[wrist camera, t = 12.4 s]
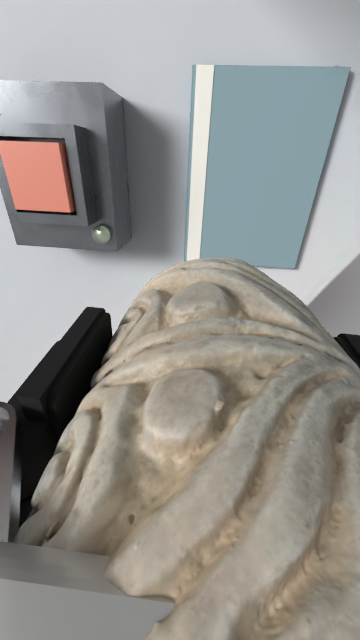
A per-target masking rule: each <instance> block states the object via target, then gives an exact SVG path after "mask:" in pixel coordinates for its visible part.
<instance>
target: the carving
mask: <svg viewBox="0 0 360 640" xmlns="http://www.w3.org/2000/svg"><path fill="white" fill-rule="evenodd" d="M96 383H97V384H96ZM90 387H91V388H92V390H91V391H90V392H89V393H88V394H87V395H86V396H85V397H84V399H83V400H82V402H81V404H80V406H79V408H78V409H77V411H76V414H75V416H74V418H73V419H72V420H71V421H70V423H69V424H68V425H67V427H66V428H65V430H64V432H63V433H62V435H61V438H60V440H59V442H58V444H57V447H56V450H55V453H54V455H53V458H52V459H51V460H50V461H49V463H48V465H47V467H46V468H45V470H44V472H43V474H42V476H41V479H40V481H39V483H38V485H37V487H36V489H35V492H34V494H33V497H32V499H31V506H32V508H33V510H32V512H31V513H30V515H29V516H28V518H27V520H26V521H25V522H24V523H23V524H22V525H21V527H20V528H19V530H18V532H17V534H16V536H15V539H14V542H13V543H16V544H24V545H32V546H40V547H48V548H55V549H62V550H69V551H76V552H82V553H89V554H96V555H103V556H109V557H110V558H109V560H108V562H107V564H106V566H105V568H104V577H105V579H106V580H107V581H108V582H110V583H111V584H112V585H114V586H115V587H117V588H118V589H119V590H121V591H122V592H124V593H125V594H127V595H129V596H134V597H145V596H157V597H165V598H168V599H171V600H172V601H173V602H174V603H175V604H176V605H175V606H174V608H173V610H172V612H171V613H170V614H169V615H168V616H167V617H166V618H164V619H162V620H159V621H157V622H156V623H155V625H154V627H153V629H152V630H151V631H150V632H149V634H148V635H147V636H146V638H145V639H144V640H360V369H359V367H358V366H357V364H356V363H355V362H354V361H353V360H352V359H351V358H350V357H349V356H348V355H347V353H346V352H345V351H344V350H343V349H342V347H341V346H340V345H339V344H338V343H337V342H336V341H335V339H334V338H333V337H332V336H331V335H330V334H329V333H328V332H327V331H326V330H325V329H324V327H322V325H321V324H320V322H319V321H318V320H317V318H316V317H315V316H314V314H313V313H312V312H311V311H310V310H309V308H308V307H307V306H306V305H305V304H304V303H303V302H302V301H301V300H300V299H299V298H298V297H296V296H295V295H294V294H293V293H291V292H290V291H288V290H287V289H285V288H284V287H282V286H281V285H280V284H278V283H277V282H275V281H274V280H272V279H271V278H269V277H268V276H267V275H266V274H264V273H263V272H261V271H260V270H258V269H257V268H255V267H254V266H252V265H250V264H248V263H246V262H244V261H242V260H239V259H234V258H224V257H221V258H219V257H218V258H202V259H194V260H190V261H186V262H183V263H179V264H176V265H174V266H172V267H170V268H168V269H166V270H164V271H163V272H161V273H160V274H158V275H157V276H155V277H154V278H152V279H151V280H150V281H149V282H148V283H147V284H146V285H145V287H144V288H143V289H142V291H141V292H140V294H139V295H138V297H137V298H136V299H135V300H134V302H133V303H132V305H131V306H130V308H129V309H128V311H127V313H126V314H125V315H124V317H123V319H122V320H121V322H120V324H119V327H118V329H117V331H116V332H115V334H114V335H113V337H112V339H111V341H110V343H109V345H108V348H107V352H106V353H105V355H104V356H103V359H102V362H101V368H100V369H99V370H97V371H96V372H95V373H94V375H93V377H92V379H91V382H90Z"/></svg>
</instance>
